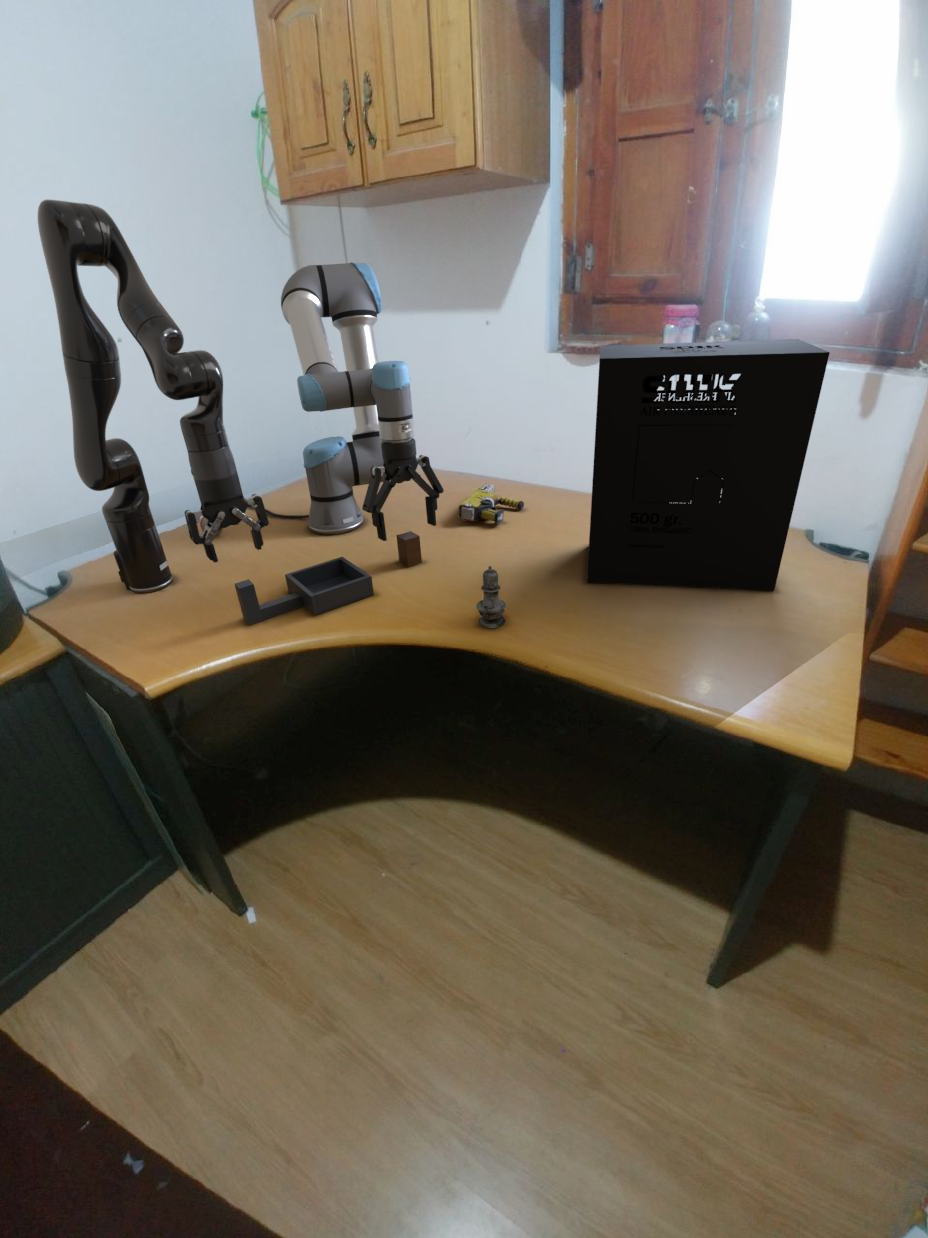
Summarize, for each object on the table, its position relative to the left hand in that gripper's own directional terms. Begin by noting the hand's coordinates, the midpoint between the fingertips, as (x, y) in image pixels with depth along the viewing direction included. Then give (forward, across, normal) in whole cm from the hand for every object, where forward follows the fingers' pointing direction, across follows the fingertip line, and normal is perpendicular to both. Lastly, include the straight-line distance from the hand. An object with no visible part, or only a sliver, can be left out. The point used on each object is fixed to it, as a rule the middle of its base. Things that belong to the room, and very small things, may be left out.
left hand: (237, 554), depth 117 cm
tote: (+15, +11, 0) cm, 19 cm away
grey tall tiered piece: (+15, +36, -33) cm, 51 cm away
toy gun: (+15, +76, +15) cm, 79 cm away
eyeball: (+14, +8, +55) cm, 58 cm away
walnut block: (+15, +39, +2) cm, 42 cm away
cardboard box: (+16, +82, -41) cm, 93 cm away
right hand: (+7, +39, +2) cm, 40 cm away
